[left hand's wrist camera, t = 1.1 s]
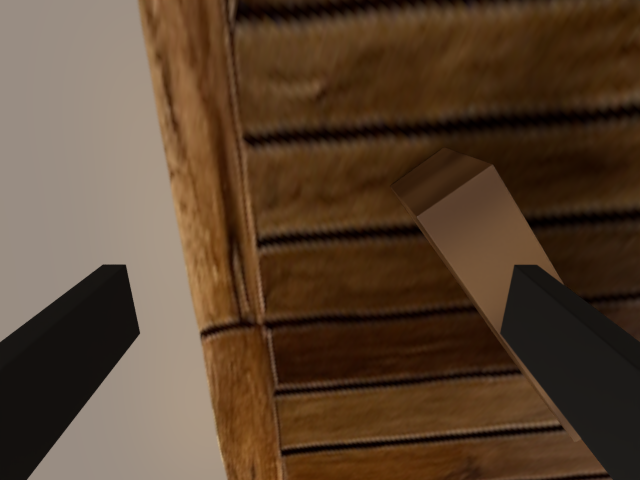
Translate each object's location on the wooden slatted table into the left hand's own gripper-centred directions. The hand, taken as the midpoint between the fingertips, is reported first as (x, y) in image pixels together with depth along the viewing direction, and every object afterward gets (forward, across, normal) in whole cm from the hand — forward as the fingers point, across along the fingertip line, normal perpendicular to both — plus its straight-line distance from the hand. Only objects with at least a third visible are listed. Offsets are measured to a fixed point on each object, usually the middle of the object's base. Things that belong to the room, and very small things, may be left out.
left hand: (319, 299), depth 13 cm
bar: (+19, +15, -8) cm, 26 cm away
